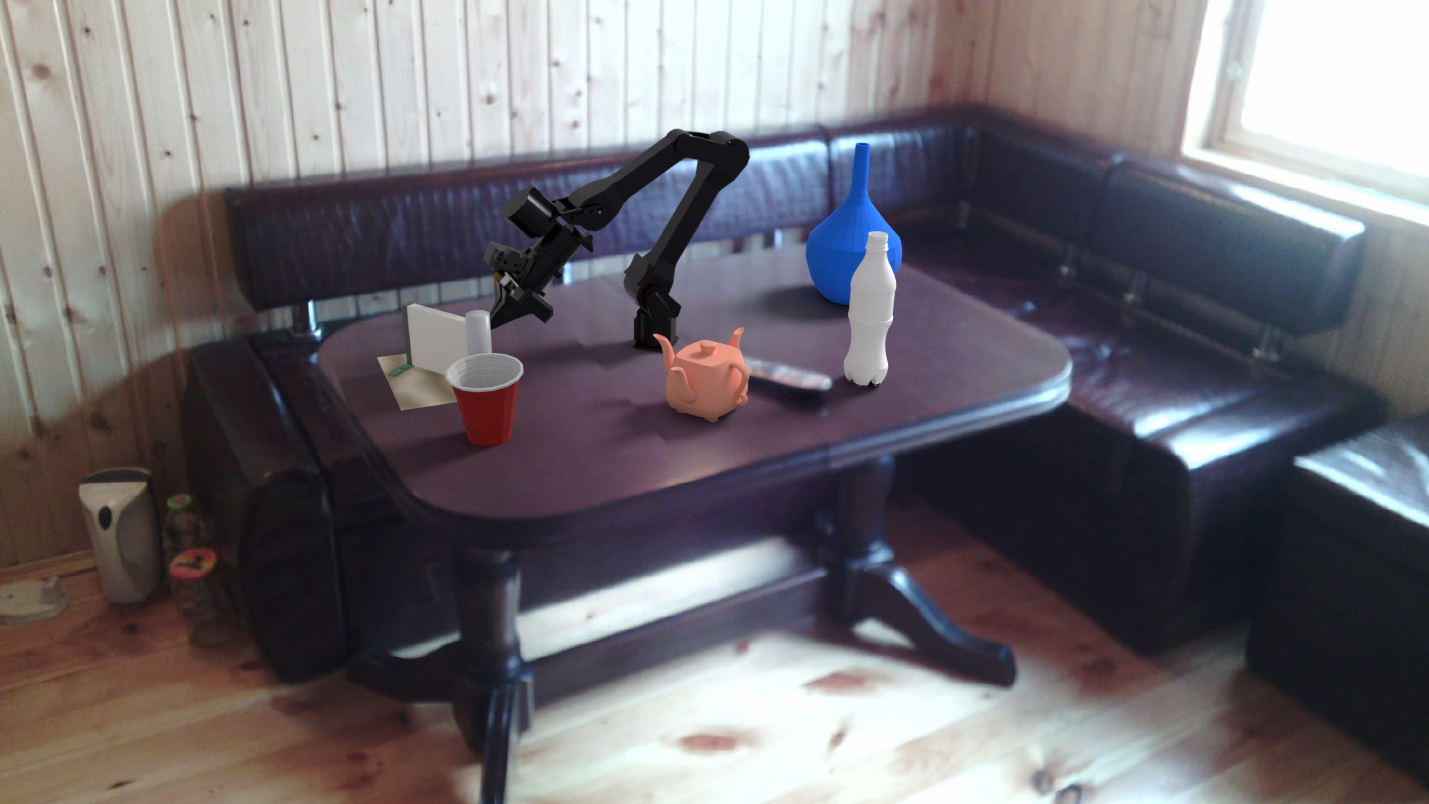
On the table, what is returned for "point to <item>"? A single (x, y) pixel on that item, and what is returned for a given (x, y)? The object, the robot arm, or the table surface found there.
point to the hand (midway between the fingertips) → (486, 328)
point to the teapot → (705, 377)
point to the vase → (848, 237)
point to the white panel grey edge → (443, 336)
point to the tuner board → (415, 384)
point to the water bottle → (870, 313)
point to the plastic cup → (486, 395)
